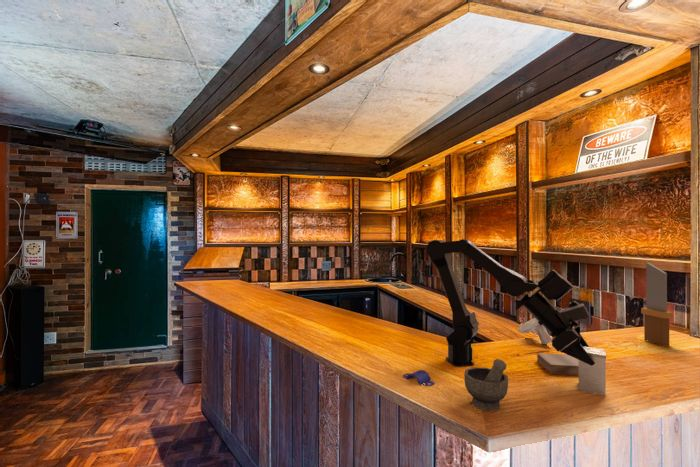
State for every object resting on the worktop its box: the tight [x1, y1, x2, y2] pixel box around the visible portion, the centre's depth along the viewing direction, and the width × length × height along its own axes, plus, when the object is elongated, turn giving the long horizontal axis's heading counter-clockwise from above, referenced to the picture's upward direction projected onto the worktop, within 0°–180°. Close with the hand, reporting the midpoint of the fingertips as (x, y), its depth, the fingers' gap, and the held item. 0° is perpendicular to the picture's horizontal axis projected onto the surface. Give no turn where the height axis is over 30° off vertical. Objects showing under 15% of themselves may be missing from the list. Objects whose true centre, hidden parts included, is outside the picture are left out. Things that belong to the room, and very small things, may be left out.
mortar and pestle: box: [463, 358, 509, 412], centre depth 81 cm, size 11×9×12 cm
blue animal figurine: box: [402, 369, 436, 387], centre depth 95 cm, size 9×5×3 cm, turn 43°
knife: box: [640, 262, 674, 346], centre depth 131 cm, size 8×4×30 cm, turn 9°
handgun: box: [517, 316, 552, 345], centre depth 135 cm, size 20×4×11 cm, turn 2°
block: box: [536, 352, 579, 376], centre depth 105 cm, size 10×10×3 cm
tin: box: [578, 346, 607, 397], centre depth 90 cm, size 6×6×10 cm
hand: (592, 359), depth 90 cm, fingers open, 9 cm apart
